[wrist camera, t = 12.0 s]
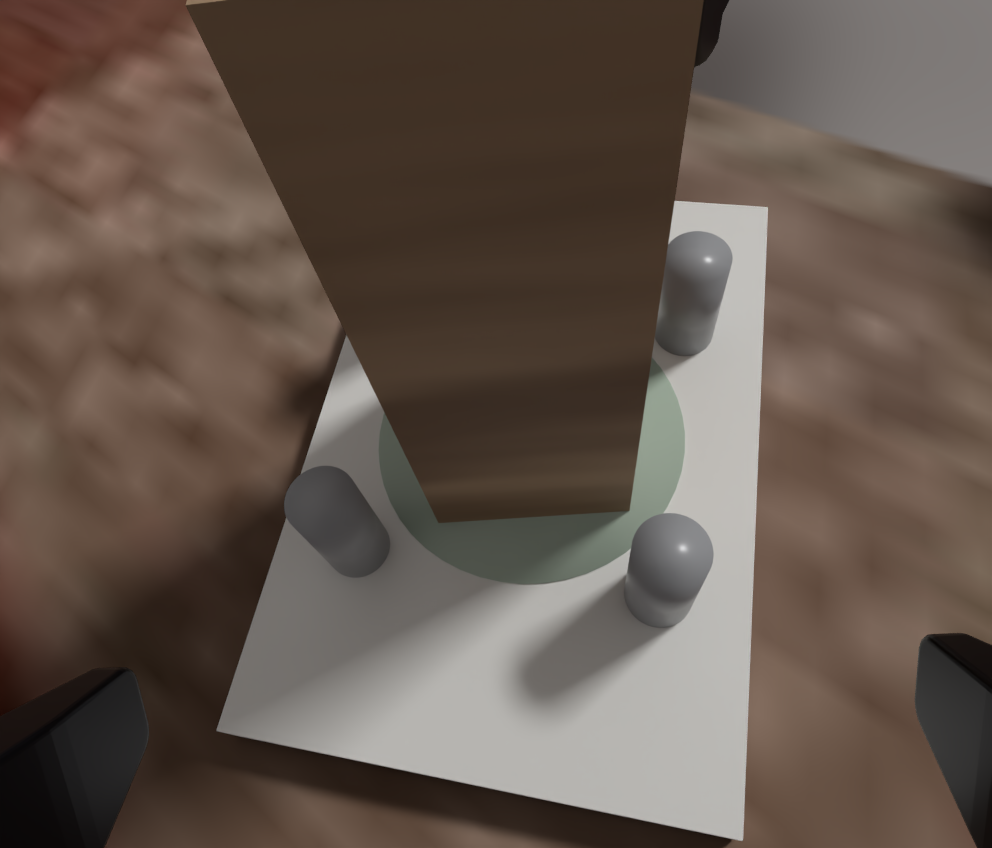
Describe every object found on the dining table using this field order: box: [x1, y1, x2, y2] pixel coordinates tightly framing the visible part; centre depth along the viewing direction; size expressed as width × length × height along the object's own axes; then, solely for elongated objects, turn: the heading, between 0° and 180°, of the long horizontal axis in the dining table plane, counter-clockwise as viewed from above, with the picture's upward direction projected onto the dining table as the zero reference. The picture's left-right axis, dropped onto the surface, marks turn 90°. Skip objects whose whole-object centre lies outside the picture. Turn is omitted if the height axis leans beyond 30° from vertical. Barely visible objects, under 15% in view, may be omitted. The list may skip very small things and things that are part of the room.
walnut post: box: [186, 0, 704, 523], centre depth 13 cm, size 4×4×13 cm
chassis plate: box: [216, 201, 768, 841], centre depth 18 cm, size 16×11×4 cm
